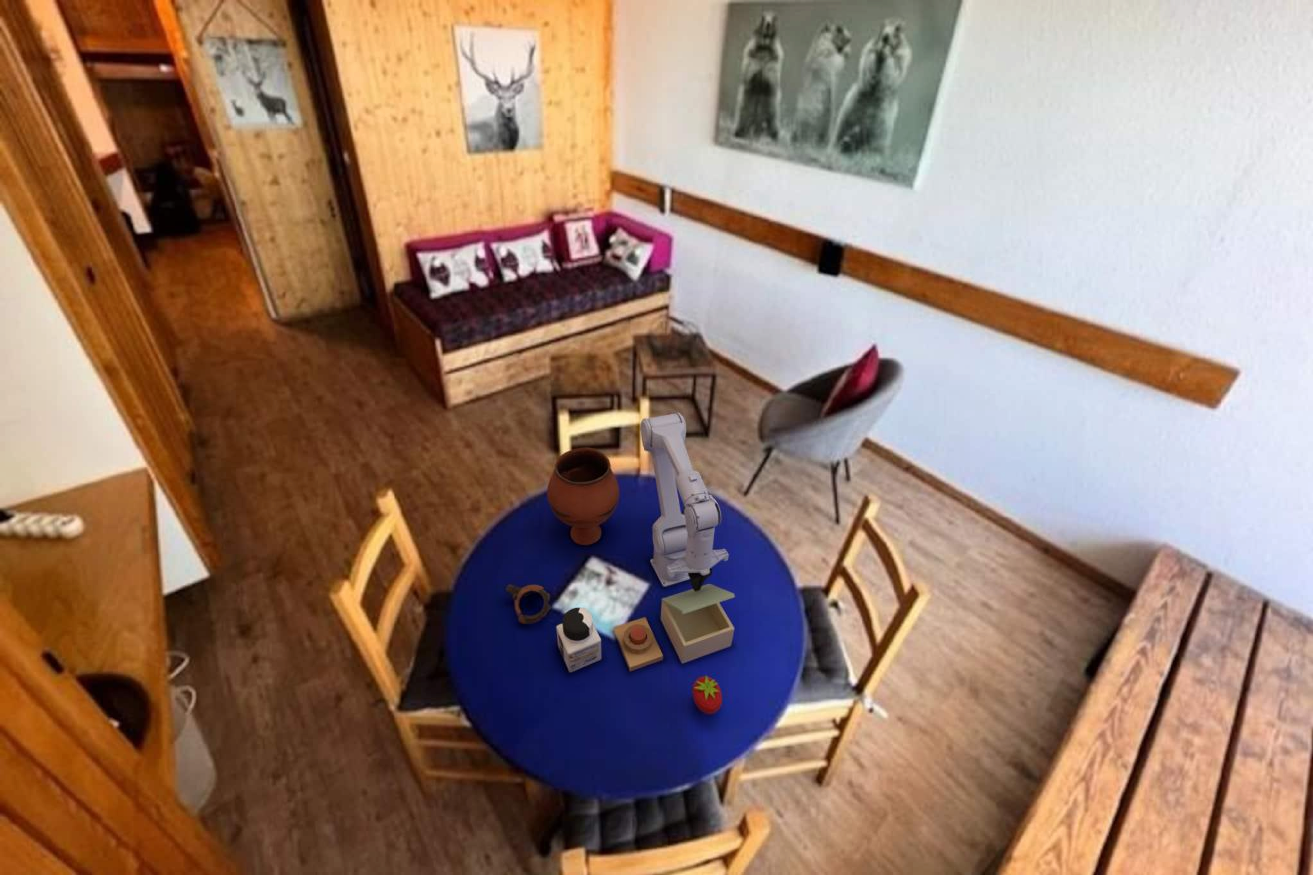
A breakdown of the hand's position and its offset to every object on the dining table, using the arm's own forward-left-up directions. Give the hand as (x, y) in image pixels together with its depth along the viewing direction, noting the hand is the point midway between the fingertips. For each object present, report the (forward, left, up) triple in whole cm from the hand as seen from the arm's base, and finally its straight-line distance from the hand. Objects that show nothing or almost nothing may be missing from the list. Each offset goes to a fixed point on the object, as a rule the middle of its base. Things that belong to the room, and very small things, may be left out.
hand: (695, 587), depth 134 cm
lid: (+4, -1, +1) cm, 4 cm away
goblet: (-35, -16, -11) cm, 40 cm away
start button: (+3, -15, -7) cm, 17 cm away
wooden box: (+5, -1, -10) cm, 11 cm away
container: (0, -28, -11) cm, 30 cm away
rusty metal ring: (-16, -36, -11) cm, 41 cm away
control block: (+3, -15, -10) cm, 19 cm away
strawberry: (+22, -7, -11) cm, 26 cm away
